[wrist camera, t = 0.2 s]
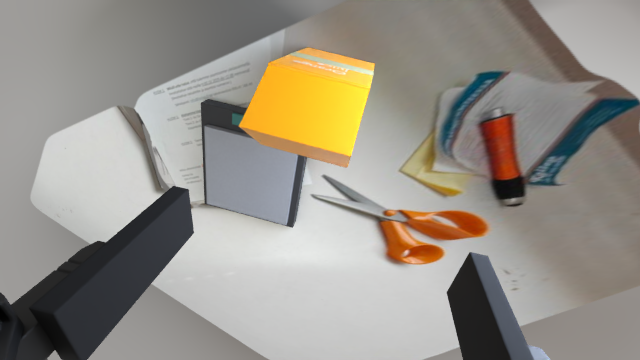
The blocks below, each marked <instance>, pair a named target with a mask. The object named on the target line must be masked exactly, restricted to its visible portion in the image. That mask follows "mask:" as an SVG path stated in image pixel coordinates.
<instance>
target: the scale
mask: <svg viewBox="0 0 640 360" xmlns="http://www.w3.org/2000/svg"><path fill="white" fill-rule="evenodd" d="M246 110H247V109H246V108H241V107H237V106H233V105H229V104H225V103H221V102H217V101H213V100H209V99H208V100H206V101H204V102H201V118H202V144H203V170H204V196H205V204H208V205H212V206H215V207H219V208H223V209H226V210H230V211H234V212H237V213H241V214H245V215H248V216H252V217H256V218H259V219H263V220H267V221H270V222H274V223H278V224H281V225H285V226H289V227H293V226H294V223H295V221H296V216H297V211H298V205H299V199H300V193H301V188H302V182H303V176H304V170H305V164H306V159H307V157H305V156H301V155H298V154H294V153H290V152H287V151H283V150H279V149H276V148H272V147H268V146H265V145H261V144H260V143H259V142H257V141H256V140H255V139H254V138H252V137H251V136H250V135H249V134H247V133H246V132H245V131H244V130H243V129H241V128H240V127H239V125H240V123H241V121H242V119H243V117H244V114H245V112H246Z"/></svg>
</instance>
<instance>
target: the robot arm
mask: <svg viewBox="0 0 640 360" xmlns="http://www.w3.org/2000/svg"><path fill="white" fill-rule="evenodd" d="M193 233H194V231H193V222H192V214H191V206H190V198H189V190H188V189H185V188H180V187H176V186H173V187H172V188H170V189H169V190H168V191H167V192H166V193H164V194H163V195H162V196H161V197H160V198H159V199H157V200H156V201H155V202H154V203H153V204H151V205H150V206H149V207H148V208H147V209H145V210H144V211H143V212H142V213H141V214H140V215H138V216H137V217H136V218H135V219H134V220H132V221H131V222H130V223H129V224H128V225H126V226H125V227H124V228H123V229H122V230H120V231H119V232H118V233H117V234H116V235H115V236H113V237H112V238H111V239H110V240H109V241H107V242H106V243H105V242H101V241H97V242H95V243H93V244H91V245H89V246H87V247H85V248H83V249H81V250H80V251H78V252H77V253H76V254H75V255H74V256H72V257H71V258H70V259H69V260H68V262H65V263H63V264H62V265H61V266H60V267H59V268H58V269H57V270H56V271H53V272H52V273H51V274H50V275H48V276H47V277H46V278H45V279H43V280H42V281H41V282H39V283H38V284H37V285H36V286H34V287H33V288H32V289H31V290H29V291H28V292H27V293H26V294H24V295H23V296H22V297H21V298H19V299H18V300H17V301H15V302H14V303H13V304H12V305H10V304H9V302H8V301H7V299H6V298H5V296H4V295H3V294H2V293H0V360H47V358H48V357H49V356H50V354H51V353H52V352H53V351H54V350H56V352H57V353H58V355H59V356H60V358H61V359H62V360H87V359H88V358H89V357H90V355H91V354H92V353H93V352H94V351H95V349H96V348H97V347H98V346H99V345H100V344H101V342H102V341H103V340H104V339H105V337H106V336H107V335H108V334H109V333H110V332H111V331H112V329H113V328H114V327H115V326H116V325H117V323H118V322H119V321H120V320H121V319H122V318H123V316H124V315H125V314H126V313H127V312H128V310H129V309H130V308H131V307H132V305H133V304H134V303H135V302H136V301H137V300H138V299H139V297H140V296H141V295H142V294H143V293H144V291H145V290H146V289H147V288H148V287H149V285H150V284H151V283H152V282H153V281H154V280H155V278H156V277H157V276H158V275H159V274H160V272H161V271H162V270H163V269H164V268H165V266H166V265H167V264H168V263H169V262H170V261H171V259H172V258H173V257H174V256H175V255H176V253H177V252H178V251H179V250H180V249H181V247H182V246H183V245H184V244H185V243H186V242H187V240H188V239H189V238H190V237H191V236H192V234H193ZM447 295H448V300H449V304H450V308H451V312H452V316H453V320H454V324H455V328H456V332H457V336H458V341H459V345H460V349H461V353H462V357H463V360H550V359H549V357H548V356H547V355H546V354H545V353H544V351H543V350H542V349H541V348H538V347H534V346H529V345H527V343H526V340H525V338H524V336H523V334H522V331H521V329H520V327H519V325H518V323H517V320H516V318H515V316H514V314H513V311H512V309H511V307H510V305H509V302H508V300H507V298H506V296H505V294H504V291H503V289H502V287H501V285H500V282H499V280H498V278H497V276H496V274H495V271H494V269H493V267H492V265H491V262H490V260H489V258H488V256H485V255H480V254H476V253H471V252H470V253H469V254H468V256H467V258H466V260H465V261H464V263H463V265H462V267H461V268H460V270H459V272H458V274H457V275H456V277H455V279H454V281H453V282H452V284H451V286H450V288H449V289H448V291H447Z"/></svg>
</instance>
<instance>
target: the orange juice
mask: <svg viewBox="0 0 640 360" xmlns="http://www.w3.org/2000/svg"><path fill="white" fill-rule="evenodd" d="M374 65H375V64H374V63H370V62H366V61H362V60H358V59H354V58H350V57H346V56H342V55H338V54H334V53H330V52H325V51H321V50H317V49H313V48H309V47H307V48H305V49H302V50H299V51H297V52H293V53H290V54H288V55H287V56H284V57H282V58H279V59H277V60H274V61H272V62H271V61H270V62H269V63H268V67H267V69H266V71H265V73H264V75H263V77H262V79H261V81H260V83H259V85H258V88H257V90H256V92H255V94H254V96H253V98H252V100H251V102H250V104H249V106H248V108H247V110H246V112H245V114H244V117H243V119H242V121H241V123H240V125H239V127H240V128H241V129H243V130H244V131H245V132H246V133H247V134H249V135H250V136H251V137H252V138H254V139H255V140H256V141H257V142H259V143H260V144H261V145H265V146H268V147H272V148H276V149H279V150H283V151H287V152H290V153H294V154H298V155H301V156H305V157H309V158H312V159H316V160H320V161H323V162H327V163H331V164H334V165H338V166H342V167H345V168H346V167H348V163H349V160H350V157H351V154H352V150H353V147H354V143H355V139H356V136H357V132H358V129H359V125H360V123H361V118H362V115H363V111H364V107H365V106H366V105H365V104H366V102H367V97H368V94H369V90H370V86H371V81H372V77H373V73H374V71H373V70H374Z"/></svg>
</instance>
